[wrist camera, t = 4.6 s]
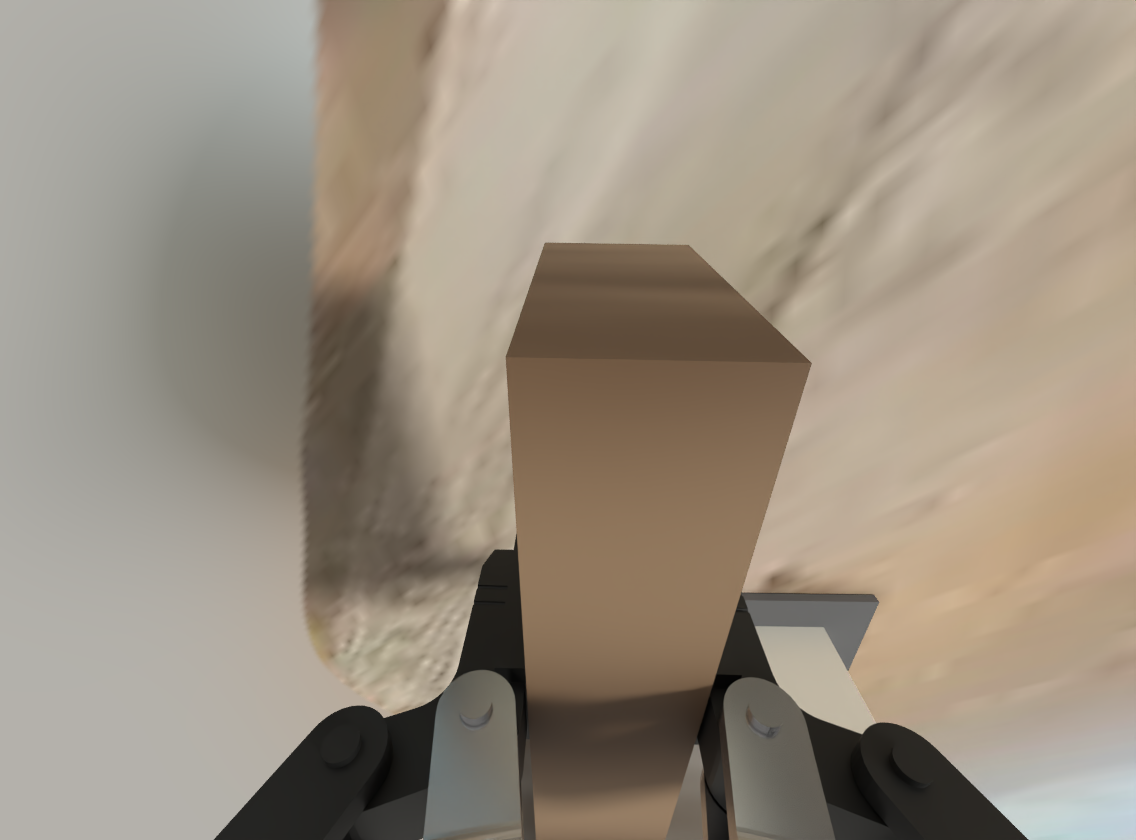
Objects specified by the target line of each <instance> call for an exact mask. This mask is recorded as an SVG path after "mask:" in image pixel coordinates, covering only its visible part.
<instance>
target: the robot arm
mask: <svg viewBox="0 0 1136 840" xmlns="http://www.w3.org/2000/svg"><path fill="white" fill-rule="evenodd" d="M526 739H530V736H529V720H528V704H527V688H526V672H525V656H524V640H523V624H522V608H521V592H520V576H519V560H518V544H517V534H516V540H515V546H514V550H494V551H493V553H492V554H491V555H490V557H489V558H488V559H487V561H486V562H485V563H484V564H483V566H482V570H481V574H480V578H479V582H478V589H477V591H476V595H475V599H474V605H473V608H472V612H471V616H470V620H469V624H468V629H467V633H466V637H465V641H464V645H463V650H462V654H461V658H460V662H459V666H458V669H457V672H456V674H455V676H454V678H453V680H452V682H451V683H450V685H449V686H448V687H447V688H446V689H445V690H444V691H443V692H442V693H441V694H440V695H439V696H438V697H437V698H435V699H434V700H432V701H431V702H429V703H427V704H425V705H423V706H421V707H418V708H415V709H412V710H409V711H406V712H402V713H399V714H396V715H393V716H390V717H386V718H383V717H382V715H381V714H380V713H379V712H378V711H376V710H375V709H373V708H371V707H367V706H351V707H347V708H344V709H341V710H339V711H337V712H334V713H333V714H331V715H330V716H328V717H327V718H325V719H324V720H323V721H321V722H320V723H319V724H318V725H317V726H316V727H315V728H314V729H313V730H312V731H311V733H310V734H309V735H308V736H307V737H306V738H305V739H304V740H303V741H302V742H301V744H300V745H299V746H298V747H297V748H296V749H295V750H294V751H293V752H292V753H291V755H290V756H289V757H288V758H287V759H286V760H285V761H284V762H283V763H282V765H281V766H280V767H279V768H278V769H277V770H276V771H275V772H274V773H273V775H272V776H271V777H270V778H269V779H268V780H267V781H266V782H265V783H264V785H263V786H262V787H261V788H260V789H259V790H258V791H257V792H256V793H255V795H254V796H253V797H252V798H251V799H250V800H249V801H248V803H246V805H245V806H244V807H243V808H242V809H241V810H240V811H239V812H238V814H237V815H236V816H235V817H234V818H233V819H232V820H231V821H230V822H229V823H228V825H227V826H226V827H225V828H224V829H223V830H222V831H221V832H220V833H219V835H218V836H217V837H216V838H215V839H214V840H420V839H422V838H423V840H524V831H523V811H522V790H521V780H522V775H523V768H524V757H525V746H526ZM694 745H699V749H700V754H701V759H702V763H703V768H702V771H701V776H700V794H701V812H702V830H703V840H1028V839H1027V838H1026V837H1025V836H1024V835H1023V834H1022V833H1021V832H1020V831H1019V830H1018V829H1017V828H1016V827H1015V826H1014V825H1013V824H1012V823H1011V822H1010V821H1009V820H1008V819H1007V818H1006V817H1005V816H1004V815H1003V814H1002V813H1001V812H1000V811H999V810H998V809H997V808H996V807H995V806H994V805H993V804H992V803H991V802H990V801H989V800H988V799H987V798H986V797H985V796H984V795H983V794H982V793H981V792H980V791H979V790H978V789H976V788H975V787H974V786H973V785H972V784H971V783H970V782H969V781H968V780H967V779H966V778H965V777H964V776H963V775H962V774H961V773H960V772H959V771H958V770H957V769H956V768H955V767H954V766H953V765H952V764H951V763H950V762H949V761H948V760H947V759H946V758H945V757H944V756H943V755H942V754H941V753H940V752H939V751H938V750H937V749H936V748H935V747H934V746H933V745H932V744H930V743H929V742H928V741H927V740H925V739H924V738H923V737H921V736H920V735H918V734H917V733H915V732H913V731H911V730H909V729H907V728H905V727H902V726H900V725H897V724H892V723H876V724H873V725H871V726H869V727H868V728H867V729H866V730H865V731H864V733H863V734H860V733H857V732H855V731H852V730H849V729H846V728H843V727H840V726H837V725H835V724H832V723H829V722H826V721H823V720H821V719H818V718H816V717H814V716H812V715H810V714H808V713H806V712H805V711H804V710H802V709H801V708H799V706H798V705H797V704H796V702H795V701H794V700H793V699H792V697H791V696H790V695H788V694H787V693H786V692H785V691H784V690H783V689H781V688H780V687H779V685H778V684H777V682H776V680H775V678H774V676H773V673H772V671H771V668H770V665H769V663H768V660H767V657H766V655H765V652H764V649H763V647H762V644H761V642H760V639H759V636H758V634H757V631H756V628H755V626H754V623H753V620H752V618H751V615H750V613H748V607H747V605H746V602H745V599H744V597H743V596H742V591H741V595H740V598H739V601H738V604H737V608H736V611H735V614H734V617H733V621H732V624H731V627H730V630H729V634H728V637H727V640H726V643H725V647H724V650H723V653H722V656H721V660H720V663H719V666H718V669H717V673H716V676H715V679H714V683H713V686H712V689H711V692H710V696H709V699H708V702H707V705H706V709H705V712H704V715H703V718H702V722H701V725H700V728H699V731H698V735H697V738H696V741H695V744H694Z"/></svg>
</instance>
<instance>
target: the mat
mask: <svg viewBox="0 0 1136 840" xmlns="http://www.w3.org/2000/svg"><path fill="white" fill-rule="evenodd" d="M742 596H743V597H744V599H745V602H746V605H747V607H748V613H750V615H751V618H752V620H753V623H754V626H777V627H824V629H825V631H826V632H827V634H828V636H829V638H830V640H831V641H832V643H833V645H834V647H835V649H836V651H837V652H838V654H839V656H840V658H841V660H842V662H843V663H844V665H845V667H846V669H847V671H848V670H849V668H850V666H851V663H852V661H853V659H854V657H855V655H856V652H857V650H858V648H859V646H860V644H861V641H862V639H863V637H864V635H865V632H866V630H867V628H868V626H869V624H870V621H871V619H872V617H873V615H874V613H875V610H876V608H877V606H878V604H879V601H878V600H877V598H876V597H875V596H874V595H844V594H770V593H742Z"/></svg>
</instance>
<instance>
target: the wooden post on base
mask: <svg viewBox="0 0 1136 840" xmlns="http://www.w3.org/2000/svg"><path fill="white" fill-rule="evenodd" d="M811 364H812V363H811V362H810V361H809V360H808V359H807V358H806V357H805V356H804V355H803V354H802V353H801V352H800V351H798V350H797V349H796V348H795V347H794V346H793V345H792V344H791V343H790V342H789V341H788V340H787V339H786V338H785V337H784V336H783V335H782V334H781V333H780V332H779V331H778V330H777V329H776V328H774V327H773V326H772V325H771V324H770V323H769V322H768V321H767V320H766V319H765V318H764V317H763V316H762V315H761V314H760V313H759V312H758V311H757V310H756V309H755V308H754V307H753V306H752V305H751V304H749V303H748V302H747V301H746V300H745V299H744V298H743V297H742V296H741V295H740V294H739V293H738V292H737V291H736V290H735V289H734V288H733V287H732V286H731V285H730V284H729V283H728V282H727V281H726V280H724V279H723V278H722V277H721V276H720V275H719V274H718V273H717V272H716V271H715V270H714V269H713V268H712V267H711V266H710V265H709V264H708V263H707V262H706V261H705V260H704V259H703V258H702V257H701V256H699V255H698V254H697V253H696V252H695V251H694V250H693V249H692V248H691V247H690V246H689V245H653V244H591V243H545V244H544V247H543V250H542V253H541V256H540V259H539V262H538V265H537V268H536V271H535V274H534V276H533V279H532V282H531V285H530V288H529V291H528V294H527V297H526V300H525V303H524V306H523V309H522V311H521V314H520V317H519V320H518V323H517V326H516V329H515V332H514V335H513V338H512V341H511V344H510V347H509V349H508V352H507V355H506V368H507V384H508V400H509V416H510V432H511V448H512V464H513V480H514V496H515V512H516V528H517V544H518V560H519V576H520V592H521V608H522V624H523V640H524V656H525V672H526V688H527V704H528V720H529V736H530V739H526V746H525V757H524V768H523V775H522V780H521V790H522V811H523V831H524V840H703V830H702V812H701V794H700V776H701V771H702V768H703V763H702V759H701V754H700V749H699V745H694V744H695V741H696V738H697V735H698V731H699V728H700V725H701V722H702V718H703V715H704V712H705V709H706V705H707V702H708V699H709V696H710V692H711V689H712V686H713V683H714V679H715V676H716V673H717V669H718V666H719V663H720V660H721V656H722V653H723V650H724V647H725V643H726V640H727V637H728V634H729V630H730V627H731V624H732V621H733V617H734V614H735V611H736V608H737V604H738V601H739V598H740V595H741V591H742V588H743V585H744V582H745V578H746V575H747V572H748V569H749V565H750V562H751V559H752V556H753V552H754V549H755V546H756V543H757V539H758V536H759V533H760V530H761V526H762V523H763V520H764V517H765V513H766V510H767V507H768V504H769V500H770V497H771V494H772V491H773V487H774V484H775V481H776V478H777V474H778V471H779V468H780V464H781V461H782V458H783V455H784V451H785V448H786V445H787V442H788V438H789V435H790V432H791V429H792V425H793V422H794V419H795V416H796V412H797V409H798V406H799V403H800V399H801V396H802V393H803V390H804V386H805V383H806V380H807V377H808V373H809V370H810V367H811Z"/></svg>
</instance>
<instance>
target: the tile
mask: <svg viewBox="0 0 1136 840" xmlns="http://www.w3.org/2000/svg"><path fill="white" fill-rule="evenodd" d="M755 628H756V631H757V634H758V636H759V639H760V642H761V644H762V647H763V649H764V652H765V655H766V657H767V660H768V663H769V665H770V668H771V671H772V673H773V676H774V678H775V680H776V682H777V684H778V685H779V687H780V688H781V689H783V690H784V691H785V692H786V693H787V694H788V695H790V696H791V697H792V699H793V700H794V701H795V702H796V704H797V705H798V706H799V708H801V709H802V710H804V711H805V712H806V713H808V714H810V715H812V716H814V717H816V718H818V719H821V720H823V721H826V722H829V723H832V724H835V725H837V726H840V727H843V728H846V729H849V730H852V731H855V732H857V733H860V734H863V733H864V731H865V730H866V729H867V728H868V727H869V726H871V725H873V724H876V722H875V720H874V718H873V716H872V715H871V713H870V711H869V709H868V707H867V705H866V704H865V702H864V700H863V698H862V696H861V694H860V693H859V691H858V689H857V687H856V685H855V684H854V682H853V680H852V678H851V676H850V674H849V673H848V671H847V669H846V667H845V665H844V663H843V662H842V660H841V658H840V656H839V654H838V652H837V651H836V649H835V647H834V645H833V643H832V641H831V640H830V638H829V636H828V634H827V632H826V631H825V629H824V627H777V626H755Z"/></svg>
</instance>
